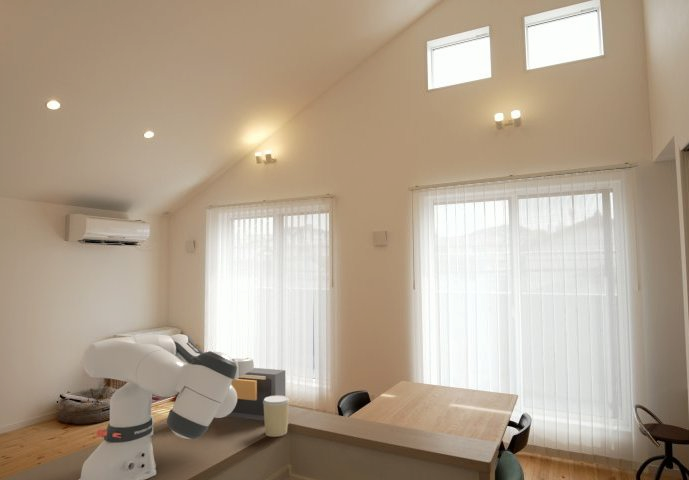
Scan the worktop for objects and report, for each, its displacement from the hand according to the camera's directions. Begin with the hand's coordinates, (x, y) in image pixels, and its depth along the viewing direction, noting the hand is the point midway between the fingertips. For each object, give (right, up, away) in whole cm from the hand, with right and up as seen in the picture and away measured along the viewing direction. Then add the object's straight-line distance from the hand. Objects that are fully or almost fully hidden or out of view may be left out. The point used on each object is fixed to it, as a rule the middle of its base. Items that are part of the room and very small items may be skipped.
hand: (238, 360), depth 168 cm
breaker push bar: (-1, -16, +6) cm, 17 cm away
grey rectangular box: (+2, -26, +14) cm, 30 cm away
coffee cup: (+15, -25, -6) cm, 30 cm away
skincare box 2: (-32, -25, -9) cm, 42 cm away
